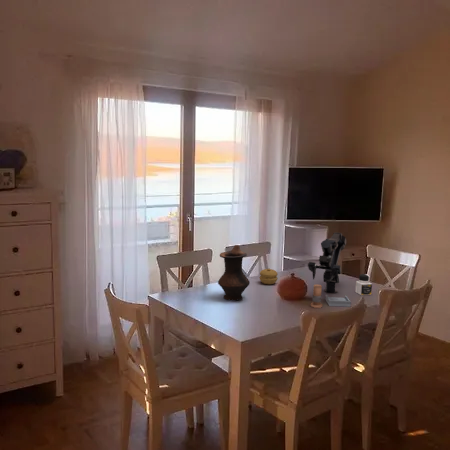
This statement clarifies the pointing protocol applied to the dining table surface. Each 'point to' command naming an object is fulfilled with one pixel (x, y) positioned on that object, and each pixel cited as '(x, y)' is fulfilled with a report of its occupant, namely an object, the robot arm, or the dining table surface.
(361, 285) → the medicine bottle
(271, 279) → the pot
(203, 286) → the dining table surface
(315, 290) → the wooden spool
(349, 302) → the notched board
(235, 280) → the dark brown vase
